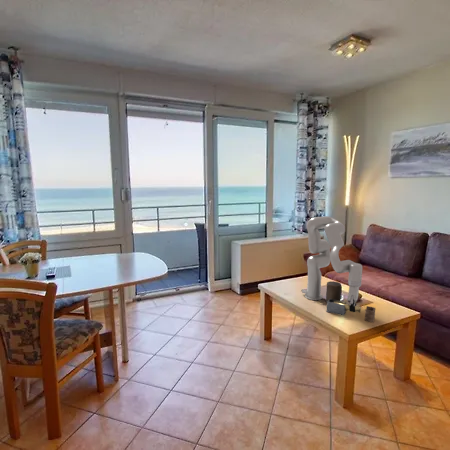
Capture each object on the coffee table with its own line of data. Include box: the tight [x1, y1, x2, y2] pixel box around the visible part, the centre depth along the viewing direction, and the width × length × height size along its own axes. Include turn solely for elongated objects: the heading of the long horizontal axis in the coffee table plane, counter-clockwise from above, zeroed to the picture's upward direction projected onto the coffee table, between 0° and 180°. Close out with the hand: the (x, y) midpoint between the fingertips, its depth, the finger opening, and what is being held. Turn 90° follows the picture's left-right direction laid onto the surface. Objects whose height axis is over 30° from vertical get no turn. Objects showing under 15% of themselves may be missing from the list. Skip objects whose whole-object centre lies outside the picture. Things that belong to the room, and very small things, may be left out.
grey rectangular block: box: [325, 299, 348, 317], centre depth 197 cm, size 11×6×7 cm, turn 58°
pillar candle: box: [325, 281, 342, 303], centre depth 213 cm, size 10×10×15 cm
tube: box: [334, 302, 362, 313], centre depth 194 cm, size 16×4×4 cm, turn 58°
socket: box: [364, 305, 376, 323], centre depth 187 cm, size 5×7×7 cm
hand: (352, 310), depth 192 cm, fingers closed on tube, 3 cm apart
